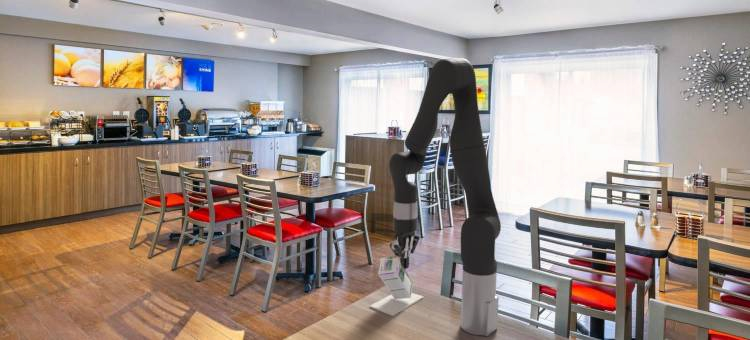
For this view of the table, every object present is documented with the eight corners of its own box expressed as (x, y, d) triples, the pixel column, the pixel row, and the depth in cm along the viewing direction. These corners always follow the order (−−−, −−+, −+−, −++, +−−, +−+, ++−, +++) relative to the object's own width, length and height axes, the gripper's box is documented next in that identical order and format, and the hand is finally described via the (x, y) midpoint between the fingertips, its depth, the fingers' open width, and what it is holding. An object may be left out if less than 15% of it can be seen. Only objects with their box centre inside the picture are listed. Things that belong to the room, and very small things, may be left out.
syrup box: (411, 298, 147) (395, 270, 139) (394, 300, 149) (377, 272, 141) (413, 282, 151) (397, 255, 143) (396, 284, 153) (379, 257, 145)
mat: (423, 298, 151) (423, 296, 151) (392, 316, 139) (392, 314, 139) (401, 290, 157) (401, 289, 157) (369, 307, 145) (369, 305, 145)
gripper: (408, 209, 154) (407, 259, 157) (382, 217, 144) (382, 270, 147) (427, 213, 149) (426, 265, 152) (401, 222, 139) (401, 277, 142)
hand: (404, 267), depth 149 cm, fingers closed
